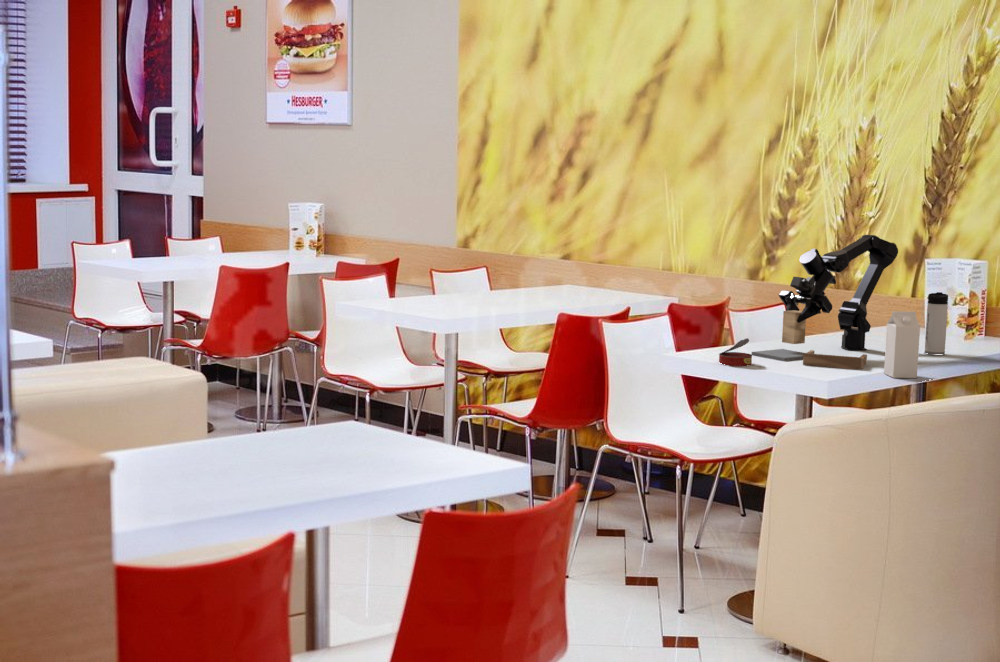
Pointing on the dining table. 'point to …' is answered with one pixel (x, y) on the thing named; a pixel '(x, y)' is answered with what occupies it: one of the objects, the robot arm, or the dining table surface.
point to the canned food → (736, 356)
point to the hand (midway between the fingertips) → (791, 320)
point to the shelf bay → (834, 360)
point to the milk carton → (902, 345)
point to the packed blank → (793, 328)
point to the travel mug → (936, 323)
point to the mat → (780, 354)
